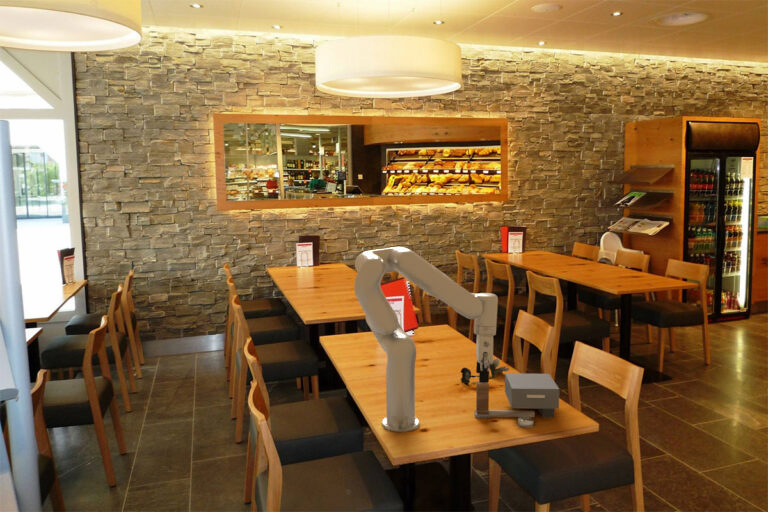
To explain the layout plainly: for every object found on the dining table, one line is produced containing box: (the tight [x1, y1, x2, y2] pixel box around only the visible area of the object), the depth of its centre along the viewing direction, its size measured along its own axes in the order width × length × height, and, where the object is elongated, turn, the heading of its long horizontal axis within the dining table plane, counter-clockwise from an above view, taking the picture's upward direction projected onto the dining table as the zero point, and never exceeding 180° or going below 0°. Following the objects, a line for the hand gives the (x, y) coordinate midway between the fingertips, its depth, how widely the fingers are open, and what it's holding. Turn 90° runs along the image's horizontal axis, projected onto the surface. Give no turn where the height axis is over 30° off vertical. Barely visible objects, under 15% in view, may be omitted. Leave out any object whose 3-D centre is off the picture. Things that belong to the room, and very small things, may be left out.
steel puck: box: [517, 417, 534, 429], centre depth 200 cm, size 5×5×2 cm
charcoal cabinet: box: [504, 372, 560, 418], centre depth 211 cm, size 17×16×11 cm
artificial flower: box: [460, 358, 510, 385], centre depth 247 cm, size 9×22×10 cm, turn 117°
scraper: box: [474, 381, 536, 419], centre depth 207 cm, size 4×20×12 cm, turn 87°
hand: (482, 377), depth 206 cm, fingers open, 9 cm apart
